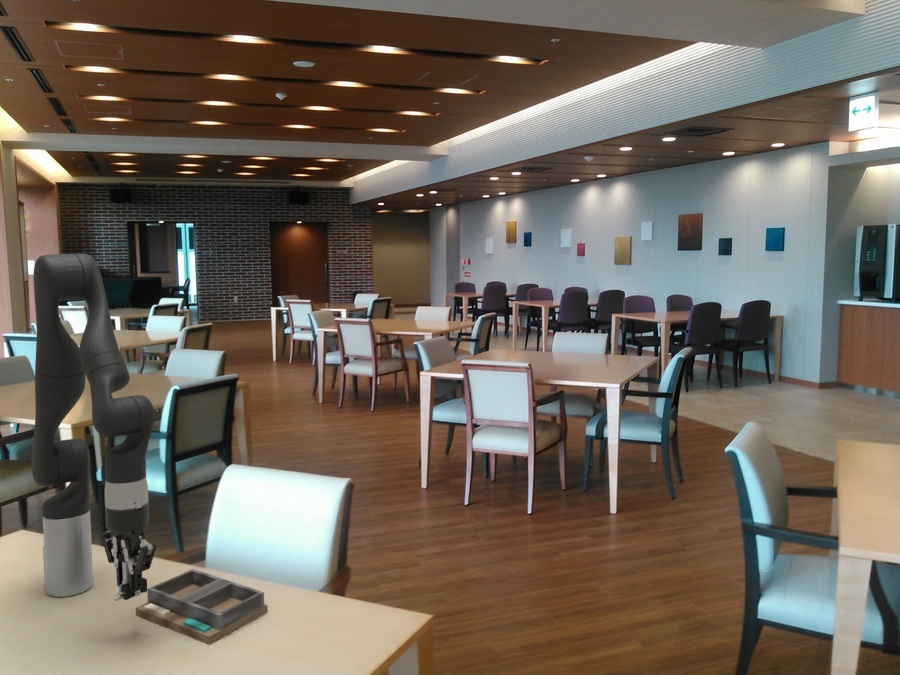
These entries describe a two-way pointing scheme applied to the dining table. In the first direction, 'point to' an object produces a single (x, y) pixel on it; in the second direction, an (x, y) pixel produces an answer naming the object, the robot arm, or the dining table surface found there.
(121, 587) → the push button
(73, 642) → the dining table surface
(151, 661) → the dining table surface
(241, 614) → the dock
